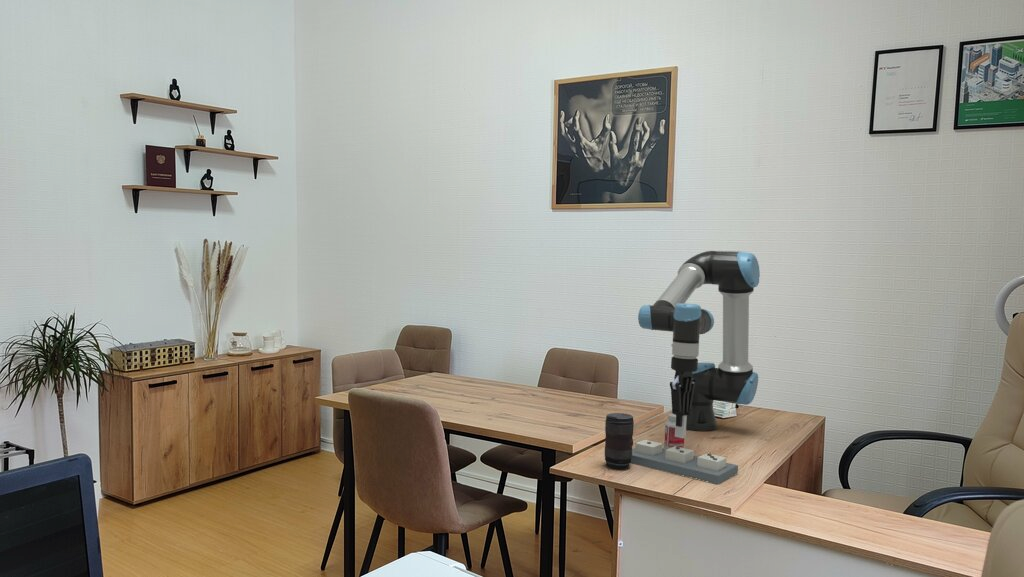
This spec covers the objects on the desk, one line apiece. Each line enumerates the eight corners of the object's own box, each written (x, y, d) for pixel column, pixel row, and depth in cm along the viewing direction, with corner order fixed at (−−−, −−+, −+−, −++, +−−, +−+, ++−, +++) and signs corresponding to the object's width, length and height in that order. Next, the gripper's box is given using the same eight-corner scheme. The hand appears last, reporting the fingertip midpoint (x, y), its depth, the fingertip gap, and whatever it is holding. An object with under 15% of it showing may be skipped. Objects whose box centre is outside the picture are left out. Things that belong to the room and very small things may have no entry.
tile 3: (705, 464, 210) (706, 452, 210) (725, 469, 206) (726, 456, 206) (697, 469, 205) (697, 456, 205) (717, 473, 202) (717, 460, 201)
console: (644, 451, 227) (645, 444, 227) (737, 473, 208) (738, 465, 208) (621, 460, 216) (622, 452, 216) (717, 484, 197) (718, 475, 197)
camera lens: (614, 460, 216) (617, 411, 215) (637, 467, 210) (639, 416, 209) (597, 465, 210) (600, 414, 209) (620, 472, 205) (622, 420, 204)
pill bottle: (687, 450, 231) (689, 416, 230) (674, 452, 227) (676, 418, 227) (673, 445, 236) (675, 412, 235) (659, 447, 233) (661, 413, 232)
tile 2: (674, 457, 216) (674, 445, 216) (693, 461, 213) (693, 449, 212) (664, 461, 212) (665, 449, 211) (683, 466, 208) (684, 453, 208)
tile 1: (644, 450, 223) (645, 438, 222) (662, 454, 219) (662, 442, 219) (634, 454, 218) (635, 442, 218) (652, 458, 214) (653, 446, 214)
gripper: (682, 353, 218) (678, 431, 219) (662, 356, 208) (657, 438, 209) (706, 356, 213) (701, 435, 214) (687, 360, 203) (682, 443, 204)
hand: (680, 436), depth 211 cm, fingers closed
